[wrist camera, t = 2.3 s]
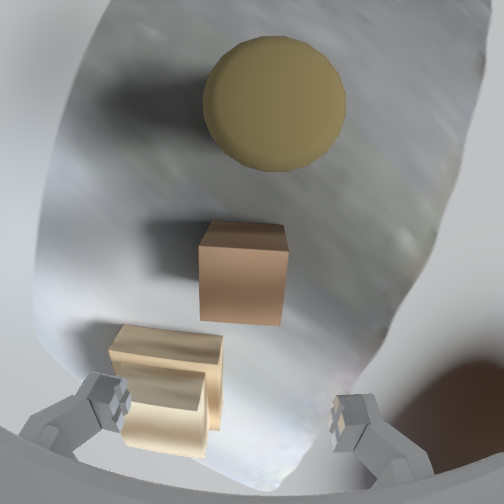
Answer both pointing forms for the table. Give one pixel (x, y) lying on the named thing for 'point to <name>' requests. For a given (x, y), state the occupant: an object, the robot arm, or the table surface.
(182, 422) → the tower mid
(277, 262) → the walnut cube
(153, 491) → the robot arm
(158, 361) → the tower base
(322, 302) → the table surface
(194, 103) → the table surface
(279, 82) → the cork
